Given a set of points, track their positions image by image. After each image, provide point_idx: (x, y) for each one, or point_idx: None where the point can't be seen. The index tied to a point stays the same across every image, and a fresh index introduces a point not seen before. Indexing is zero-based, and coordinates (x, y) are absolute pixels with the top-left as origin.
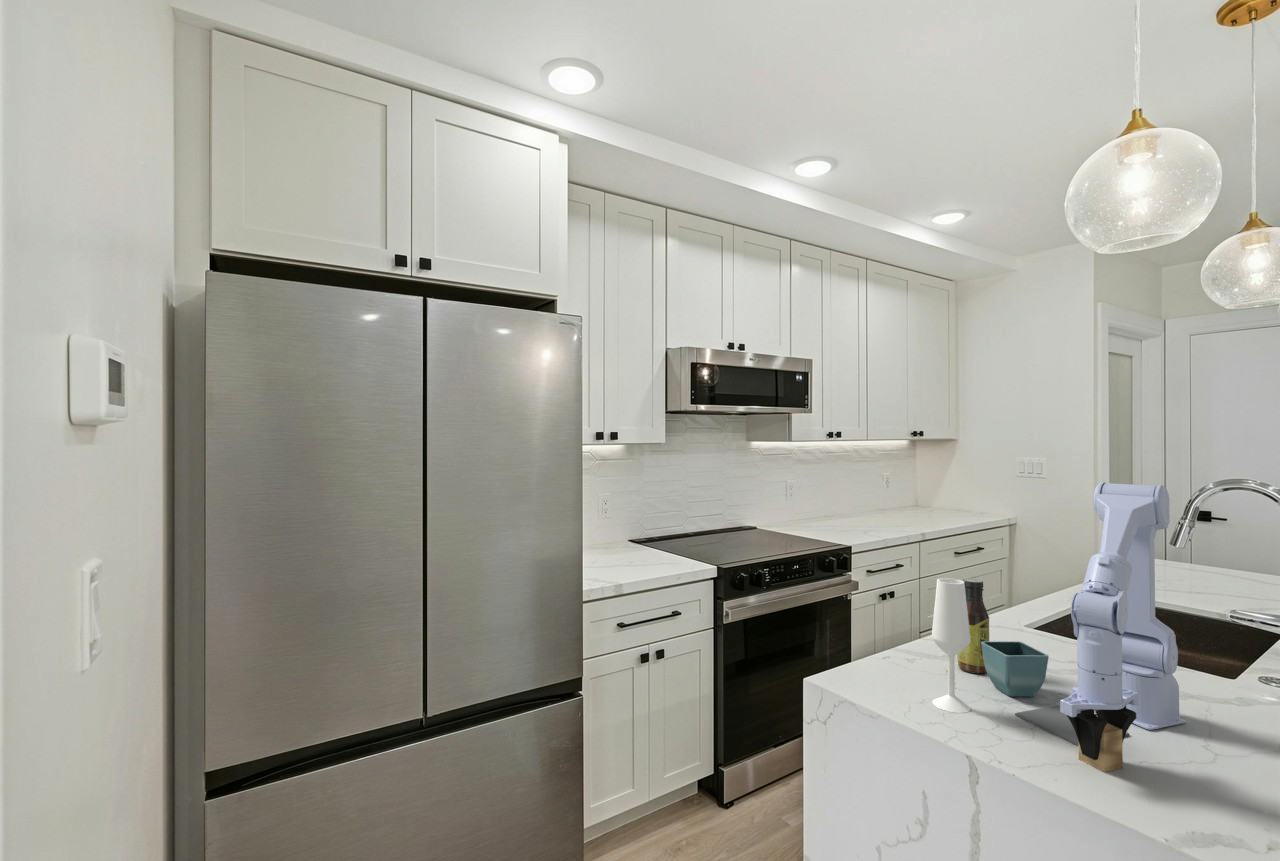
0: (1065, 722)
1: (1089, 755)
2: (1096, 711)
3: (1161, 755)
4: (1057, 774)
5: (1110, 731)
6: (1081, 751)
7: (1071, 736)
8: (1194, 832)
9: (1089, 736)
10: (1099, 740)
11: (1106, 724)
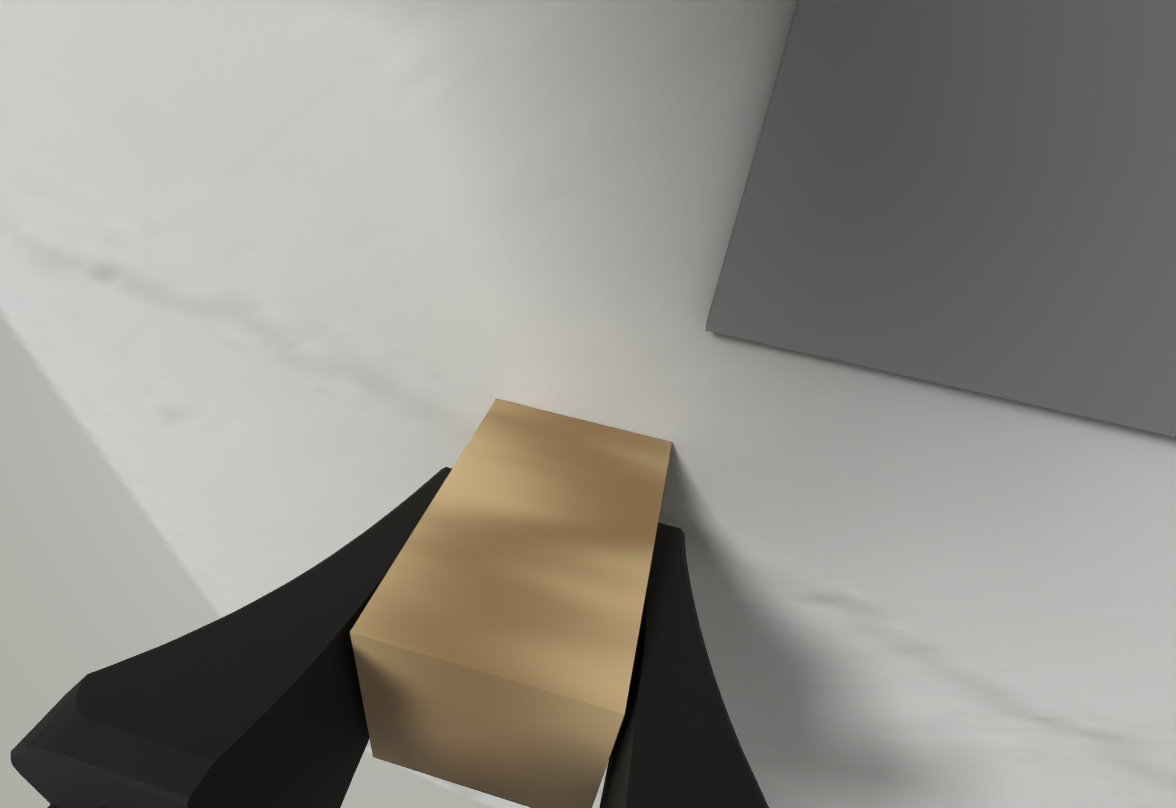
0: None
1: None
2: (624, 800)
3: (1070, 651)
4: (219, 400)
5: (455, 781)
6: (435, 475)
7: (828, 224)
8: None
9: None
10: None
11: (562, 766)
